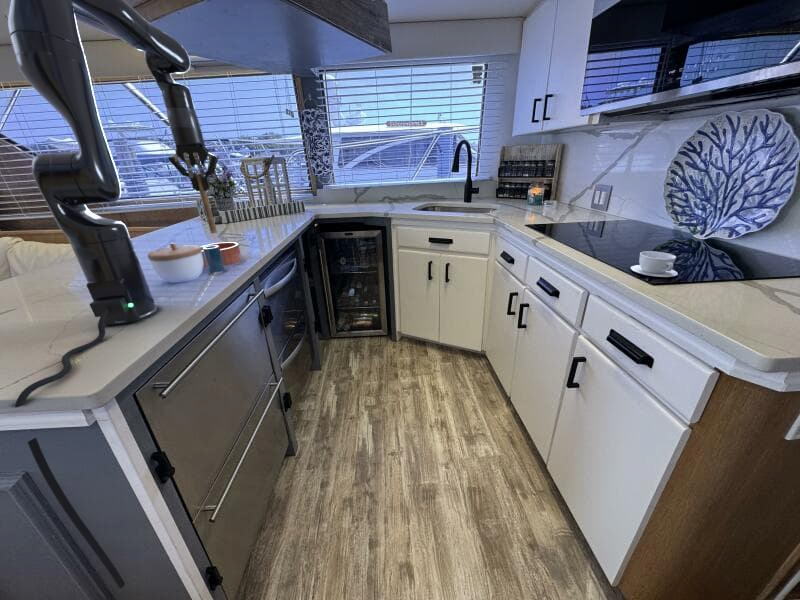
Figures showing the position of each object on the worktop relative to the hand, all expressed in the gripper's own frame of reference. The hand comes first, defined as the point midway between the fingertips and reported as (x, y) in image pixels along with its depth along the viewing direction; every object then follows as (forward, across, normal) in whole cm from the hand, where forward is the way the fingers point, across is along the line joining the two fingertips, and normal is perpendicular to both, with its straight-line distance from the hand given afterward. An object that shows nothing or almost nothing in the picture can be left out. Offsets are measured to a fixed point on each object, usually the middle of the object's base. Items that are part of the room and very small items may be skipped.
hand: (202, 190), depth 99 cm
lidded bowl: (+24, -6, -16) cm, 29 cm away
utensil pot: (+24, +1, -10) cm, 26 cm away
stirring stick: (+13, 0, 0) cm, 13 cm away
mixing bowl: (+24, 0, 0) cm, 24 cm away
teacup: (+24, +118, -54) cm, 131 cm away
